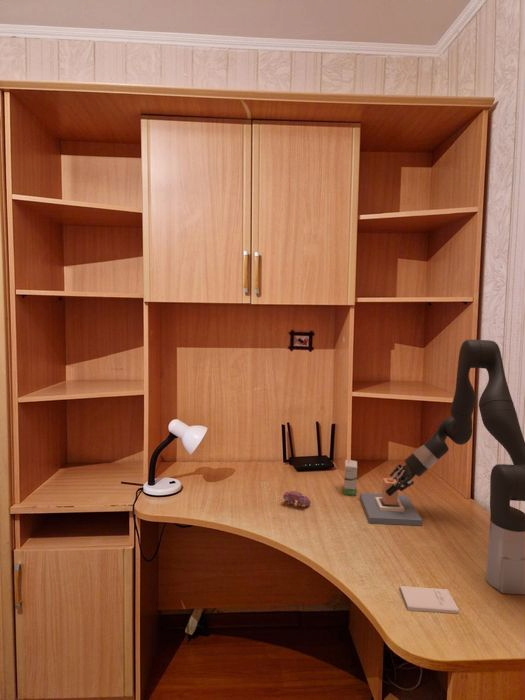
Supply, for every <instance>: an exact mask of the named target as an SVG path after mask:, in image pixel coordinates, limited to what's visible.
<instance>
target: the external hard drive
mask: <svg viewBox="0 0 525 700" xmlns="http://www.w3.org/2000/svg"><path fill="white" fill-rule="evenodd" d="M398 589H399V592H400V594H401V598H402V599H403V603H404V605H405V607H406V610H407V611H411V612H412V611H415V612H426V613H427V612H429V613H430V612H431V613H445V614H458V613H459V614H460V609H459V607H458V606H457V604H456V602H455V600H454V598H453V596H452V595H451V593H450V591H449V589H446V588H433V587H419V586H407V585H399V587H398Z"/></svg>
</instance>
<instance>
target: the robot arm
mask: <svg viewBox="0 0 525 700" xmlns="http://www.w3.org/2000/svg"><path fill="white" fill-rule="evenodd" d="M458 354H459V355H458V361H457V368H456V369H457V370H456V380H455V382H456V383H455V390H454V395H453V400H452V402H451V403H452V404H451V406H450V411H449V412H450V415H451V416H448V417H446V418H445V419H443V420H442V421H441V423H440V424H439V426H438V428H437V429H436V431H434V434H433V435H432V437H430V438H429V439H428V440H427V441H426V442H425V443H423V444H422V445H421V446H419V447H418V448H417V449H416V450H415V451H414V452H413V451H412V453H411V454H410V455H409V456H408V457H407V458H405V459H404V463H405V464H404V465H403V466H402V464H400V463H399V464H398V465H397V466H396V467H395V468H394V469H393V470H392V472H391V473H390V474H389V476H390V477H389V478H393V479H396V482H395V483H394V485H392V486H391V487H390V488H389V489H388V490H386V493H387V494H388V495H389V496H391V495H392V494H393V493H394V492H396V491H397V490H398V491H400V492H403V491H404V490H406V489H407V488H409V487H411V486H413V484H414V483H415V482H414V480H413V479H414V477H415V476H418V477H421V476H422V475H424V473H426V472H427V471H428V470H429V469H430V468H432V466H434V465H435V464H436V463H437V462H438V461H439V460H440V459H441V458H442V457H443V456H444V455H445V454H447V453H448V451H449V446H448V445H447V443H446V439H447V438H449V439H450V440H451V441H452V442H453V443H455V444H457V445H461V446H462V445H465V444H467V443H468V442H469V441H470V440H471V438H472V434H473V413H474V410H475V406H476V403H477V394H476V391H475V389H474V387H473V384H472V382H471V379H470V372H471V371H470V370H471V369H485V370H486V372H487V374H488V380H487V381H488V382H487V384H486V386H485V388H484V390H483V392H482V393H481V395H480V398H479V402H478V408H479V412H480V417H481V421H482V423H483V427H484V428H485V429H486V430H487V431H488V433H489V434H490V435H491V436H492V437H493V438H494V439H495V440H496V442H498V443H499V444H500V445H501V446H502V447H503V448H504V449H505V451H506V452H507V454H508V455H509V458H510V459H511V462H512V464H505V463H504V464H503V463H502V464H501V463H500V464H498V463H497V464H494V466H493V467H492V469H491V472H490V477H489V479H490V481H489V483H490V486H489V487H490V488H489V489H490V490H489V512H490V513H489V515H490V517H489V529H488V545H487V556H486V572H485V580H486V582H487V583H488V584H489V585H490V586H491V587H492V588H494V589H496V590H498V591H499V592H500V593H501V594H509V595H510V594H511V595H525V512H524V511H522V510H520V509H518V508H516V507H513V506H511V501H516V502H517V501H518V502H525V438H524V435H523V432H522V428H521V425H520V421H519V418H518V413H517V410H516V407H515V404H514V401H513V398H512V395H511V392H510V388H509V385H508V382H507V377H506V373H505V369H504V362H503V358H502V353H501V349H500V346H499V344H498V343H497V342H496V341H494V340H488V339H466V340H464V341H463V342H462V344H461V346H460V349H459V353H458Z"/></svg>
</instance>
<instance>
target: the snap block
mask: <svg viewBox="0 0 525 700" xmlns="http://www.w3.org/2000/svg"><path fill="white" fill-rule="evenodd" d="M395 482H396V479H393V478H390V477H382V485H381V488H382V490H381V494H382V500H383V502H384V504H391V505H397V498H398V495H399V490H397V491H396V492H394V493H393V494H392V495H391V496H389V495H388V494H387V493H386V490H388V489H389V488H390V487H391V486H392V485H394V483H395Z"/></svg>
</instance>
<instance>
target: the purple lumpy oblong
mask: <svg viewBox="0 0 525 700" xmlns="http://www.w3.org/2000/svg"><path fill="white" fill-rule="evenodd" d="M282 497H283V499H284V500H285V501H286V502H288V504H289V505H291V504H292V506H294V505H295V504H296V506H298V508H302V507H303V506H306V507H310V505H311V499H310V498H309V497H308V496H307V495H306V494H305V493H301V492H299V491H296V490H287V491H286V492H284V494H283V496H282ZM296 501H297V502H296Z"/></svg>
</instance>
